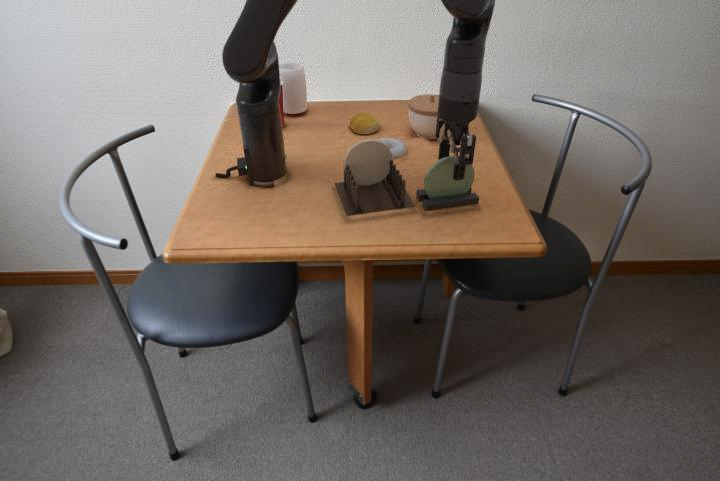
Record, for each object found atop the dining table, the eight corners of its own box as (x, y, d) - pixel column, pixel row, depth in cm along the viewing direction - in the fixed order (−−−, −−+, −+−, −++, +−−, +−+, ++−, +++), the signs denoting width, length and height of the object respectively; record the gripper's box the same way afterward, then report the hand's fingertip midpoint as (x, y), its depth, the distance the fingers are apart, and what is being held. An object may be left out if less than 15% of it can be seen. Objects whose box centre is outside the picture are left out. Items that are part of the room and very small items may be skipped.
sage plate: (423, 206, 102) (427, 160, 95) (421, 204, 103) (425, 158, 96) (470, 200, 104) (478, 154, 97) (469, 197, 105) (476, 152, 98)
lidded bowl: (410, 144, 128) (412, 104, 121) (403, 125, 138) (405, 88, 132) (456, 142, 129) (461, 103, 122) (446, 124, 139) (450, 86, 132)
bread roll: (356, 137, 132) (356, 123, 130) (346, 125, 139) (345, 112, 136) (384, 132, 134) (384, 119, 132) (372, 121, 141) (372, 108, 139)
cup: (292, 120, 142) (288, 72, 133) (275, 113, 147) (269, 66, 138) (314, 112, 147) (310, 65, 138) (296, 105, 152) (292, 59, 143)
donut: (365, 163, 120) (404, 166, 118) (364, 151, 118) (404, 153, 116) (372, 146, 128) (409, 148, 126) (372, 134, 126) (409, 136, 124)
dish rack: (346, 222, 99) (345, 191, 95) (334, 188, 110) (332, 159, 106) (415, 212, 102) (417, 182, 97) (396, 180, 113) (397, 152, 108)
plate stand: (424, 216, 100) (426, 204, 99) (415, 201, 105) (416, 190, 103) (477, 209, 102) (479, 197, 101) (466, 194, 107) (467, 183, 106)
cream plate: (345, 188, 107) (343, 143, 101) (344, 186, 108) (342, 141, 101) (392, 182, 109) (393, 138, 102) (390, 180, 110) (392, 136, 103)
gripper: (427, 81, 94) (422, 156, 103) (455, 108, 83) (446, 189, 92) (463, 78, 95) (454, 152, 105) (495, 104, 84) (481, 184, 94)
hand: (450, 169), depth 99 cm, fingers open, 8 cm apart
